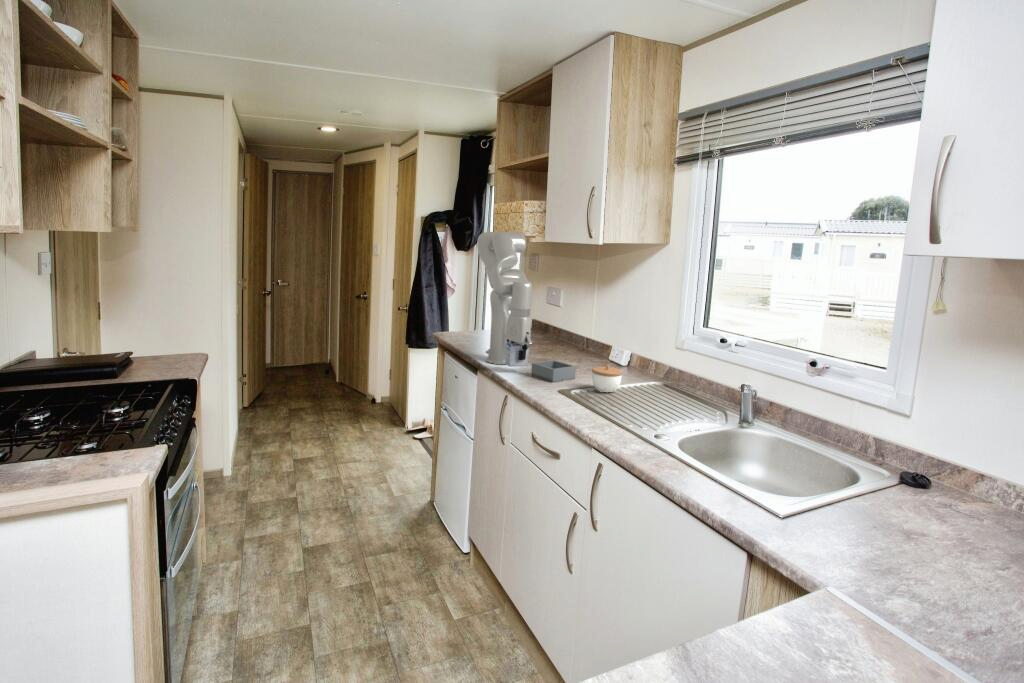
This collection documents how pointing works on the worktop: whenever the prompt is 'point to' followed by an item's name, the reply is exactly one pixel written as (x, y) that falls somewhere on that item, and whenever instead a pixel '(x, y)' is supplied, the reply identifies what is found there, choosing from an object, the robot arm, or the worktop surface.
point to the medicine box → (515, 355)
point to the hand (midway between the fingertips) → (516, 357)
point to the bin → (553, 371)
